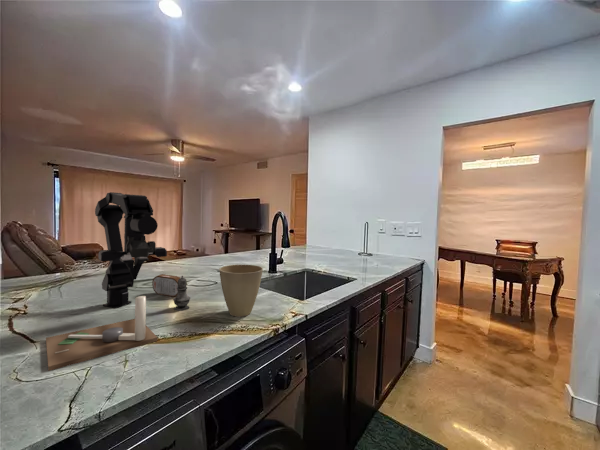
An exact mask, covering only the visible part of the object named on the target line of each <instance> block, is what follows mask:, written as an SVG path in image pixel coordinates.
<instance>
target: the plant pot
mask: <svg viewBox="0 0 600 450" xmlns="http://www.w3.org/2000/svg"><path fill="white" fill-rule="evenodd" d="M263 270H264V269H263V267H262V266H259V265H254V264H230V265H228V264H227V265H225V266H224V265H223V266H221V267H220V268H219V277H220V285H221V290H222V293H223V298H224V302H225V304H226V308H227V310H228V313H229V314H230V316H231V317H238V318H239V317H246V316H248V315H251V314H252V310H253V308H254V306H255V303H256V300H257V297H258V293H259V291H260V290H259V289H260V286H261V282H262V276H263Z"/></svg>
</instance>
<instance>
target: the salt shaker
mask: <svg viewBox="0 0 600 450" xmlns="http://www.w3.org/2000/svg"><path fill="white" fill-rule="evenodd" d="M177 290H178V294H177V296H176V297H173V298H172V301H173V303H174V305H175V307H173V310H174V311H176V312H177V311H178V312H179V311H180V312H182V311H187V310H189V309H190V308H191V307H190V306H189V305H188V304H189V303H190V301H191V300H190V299H191V296H188V295H187V294H188V293H187V290H188V287H187V279H186V278H185V277H184V276H183V275H181V277H180V279H179V280H178V288H177Z"/></svg>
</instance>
